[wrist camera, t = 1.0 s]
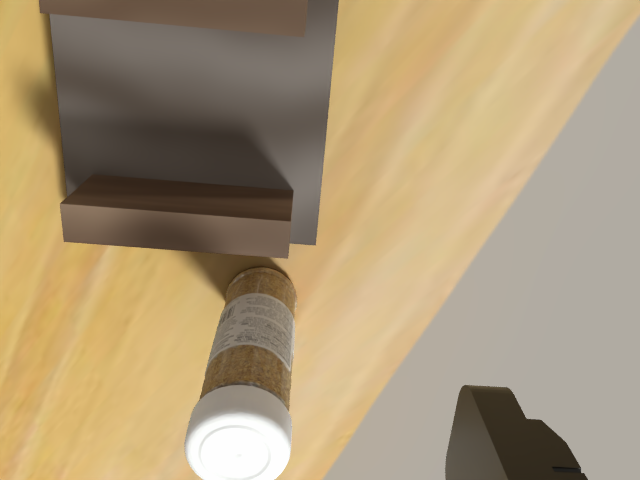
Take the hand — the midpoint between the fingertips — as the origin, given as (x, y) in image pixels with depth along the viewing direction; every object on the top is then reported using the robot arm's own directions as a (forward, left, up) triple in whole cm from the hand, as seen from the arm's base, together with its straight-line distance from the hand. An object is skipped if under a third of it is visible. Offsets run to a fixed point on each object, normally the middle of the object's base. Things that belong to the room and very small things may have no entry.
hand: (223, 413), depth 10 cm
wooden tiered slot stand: (0, -5, -24) cm, 25 cm away
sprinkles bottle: (+12, -1, -24) cm, 27 cm away
